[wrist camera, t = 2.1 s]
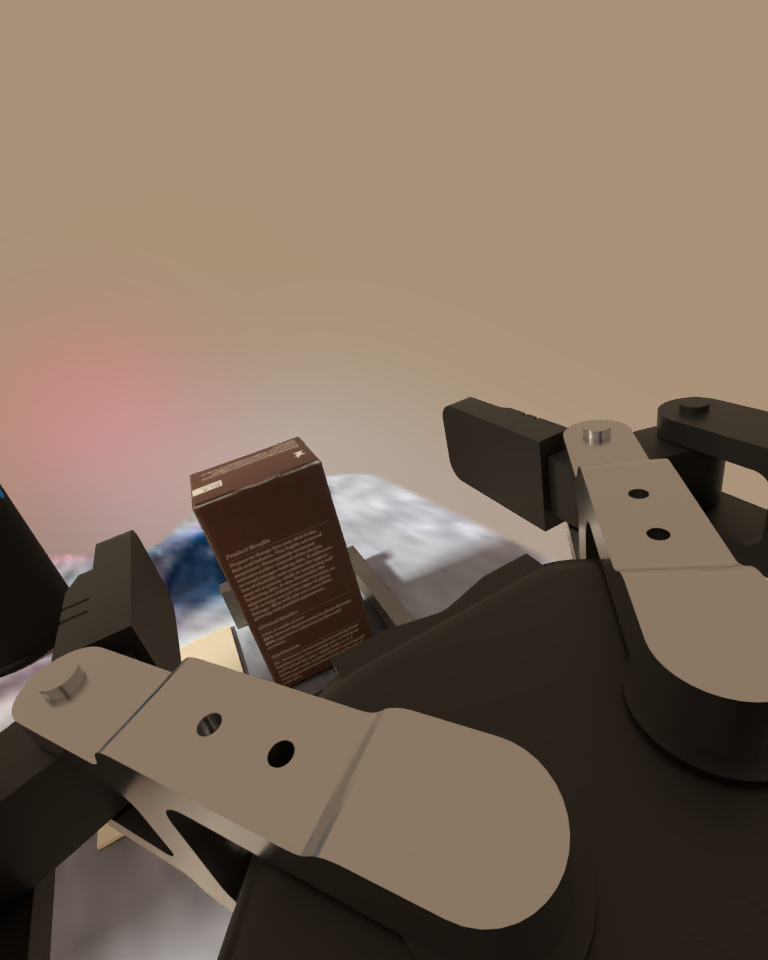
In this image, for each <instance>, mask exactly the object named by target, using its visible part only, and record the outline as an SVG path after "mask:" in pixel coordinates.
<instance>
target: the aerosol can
mask: <svg viewBox="0 0 768 960" xmlns="http://www.w3.org/2000/svg"><path fill="white" fill-rule="evenodd" d="M68 589H69V587H68V586H67V584H66V583H65V581H64V580H63V578H62V576H61V575H60V573H59V572H58V570H57V569H56V567H55V566H54V564H53V563H52V561H51V560H50V558H49V557H48V555H47V554H46V553H45V551H44V549H43V548H42V546H41V545H40V543H39V542H38V540H37V539H36V537H35V536H34V534H33V533H32V531H31V530H30V528H29V527H28V525H27V524H26V522H25V521H24V519H23V518H22V516H21V515H20V513H19V512H18V510H17V509H16V508H15V506H14V504H13V503H12V501H11V500H10V498H9V497H8V495H7V494H6V492H5V491H4V489H3V488H2V486H1V485H0V676H2V675H5V674H7V673H10V672H12V671H14V670H16V669H18V668H20V667H22V666H25V665H26V664H28V663H30V662H31V661H33V660H35V659H36V658H38V657H40V656H41V655H43V654H44V653H45V652H47V651H48V650H50V649H51V648H52V647H53V646H55V641H56V636H57V631H58V626H59V625H60V623H59V622H60V617H61V612H63V610H62V607H63V602H64V597H65V593H66V592H67V590H68Z"/></svg>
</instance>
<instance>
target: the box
mask: <svg viewBox="0 0 768 960" xmlns="http://www.w3.org/2000/svg"><path fill="white" fill-rule="evenodd" d="M190 483H191V493H192V510H193V512H194V514H195V516H196V518H197V520H198V522H199V524H200V526H201V528H202V530H203V532H204V534H205V536H206V539H207V540H208V542H209V544H210V547H211V549H212V550H213V552H214V555H215V557H216V559H217V561H218V563H219V565H220V567H221V569H222V572H223V574H224V575H225V577H226V580H227V582H228V584H229V586H230V588H231V590H232V592H233V594H234V596H235V599H236V601H237V603H238V605H239V607H240V609H241V611H242V613H243V615H244V617H245V619H246V621H247V623H248V626H249V628H250V630H251V632H252V634H253V636H254V639H255V641H256V643H257V645H258V647H259V649H260V652H261V654H262V656H263V658H264V660H265V662H266V664H267V667H268V669H269V671H270V673H271V676H272V677H273V680H274V682H275V683H276V684H279V685H282V686H286V687H290V686H292V685H294V684H296V683H298V682H300V681H302V680H304V679H306V678H308V677H310V676H312V675H314V674H316V673H318V672H320V671H322V670H324V669H326V668H328V667H330V666H332V665H333V664H332V661H331V658H333V657H335V656H337V655H339V654H341V653H343V652H344V651H346V650H348V649H350V648H352V647H354V646H356V645H357V644H359V643H361V642H363V641H365V640H367V639H369V638H370V637H372V636H374V635H373V632H372V629H371V625H370V622H369V619H368V615H367V612H366V609H365V606H364V602H363V599H362V596H361V592H360V589H359V586H358V582H357V579H356V576H355V573H354V569H353V566H352V563H351V560H350V556H349V553H348V549H347V546H346V543H345V540H344V537H343V533H342V531H341V527H340V524H339V520H338V517H337V514H336V511H335V507H334V504H333V501H332V497H331V493H330V490H329V487H328V484H327V480H326V476H325V473H324V470H323V467H322V463H321V461H320V460H319V459H318V458H317V457H316V456H315V455H314V454H313V453H312V452H311V450H309V448H308V447H307V446H306V445H305V443H304V442H303V441H302V440H301V439H300V438H299V437H296V438H293V439H290V440H288V441H285V442H282V443H280V444H277V445H274V446H271V447H269V448H266V449H263V450H261V451H258V452H255V453H252V454H249V455H247V456H244V457H241V458H238V459H235V460H233V461H230V462H227V463H224V464H221V465H218V466H215V467H212V468H210V469H207V470H204V471H202V472H198V473H195V474H192V475H190Z"/></svg>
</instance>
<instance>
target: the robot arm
mask: <svg viewBox="0 0 768 960" xmlns="http://www.w3.org/2000/svg"><path fill="white" fill-rule="evenodd" d="M443 422H444V428H445V434H446V440H447V446H448V452H449V458H450V463H451V466H452V468H453V470H454V472H455V474H456V475H457V477H458V478H459V479H460V480H462V481H463V482H465V483H466V484H468V485H470V486H471V487H473V488H475V489H476V490H478V491H480V492H481V493H483V494H484V495H486V496H488V497H489V498H491V499H493V500H494V501H496V502H498V503H499V504H501V505H503V506H504V507H506V508H507V509H509V510H511V511H512V512H514V513H516V514H517V515H519V516H521V517H522V518H524V519H526V520H527V521H529V522H530V523H532V524H534V525H535V526H537V527H539V528H540V529H542V530H544V531H547V530H549V529H551V528H553V527H555V526H557V525H559V524H561V523H562V522H564V521H565V522H567V537H568V541H569V545H570V549H571V554H572V558H573V559H572V560H564V561H557V562H552V563H547V564H543V565H542V564H541V563H539V562H538V561H536V560H535V559H534V558H532V557H531V556H529V555H528V554H525V555H523V556H521V557H519V558H518V559H516V560H514V561H512V562H510V563H508V564H506V565H505V566H503V567H501V568H499V569H497V570H495V571H493V572H491V573H490V574H488V575H486V576H484V577H483V578H482V579H480V580H479V581H478V582H477V583H476V584H475V585H474V586H472V587H471V588H470V589H469V590H468V591H467V592H466V593H465V594H463V595H462V596H461V597H460V598H459V599H458V600H457V601H455V602H454V603H453V604H452V605H451V606H450V607H449V608H447V609H446V610H444V611H443V612H440V613H438V614H434V615H431V616H428V617H425V618H422V619H418V620H415V621H412V622H409V623H406V624H402V625H399V626H396V627H393V628H389V629H386V630H384V631H382V632H380V633H378V634H376V635H374V636H372V637H370V638H369V639H367V640H365V641H363V642H361V643H359V644H357V645H356V646H354V647H352V648H350V649H348V650H346V651H344V652H343V653H341V654H339V655H337V656H335V657H333V658H331V661H332V664H333V667H334V669H335V672H336V674H337V678H336V679H335V680H334V681H332V682H331V683H330V684H329V685H328V686H327V687H326V688H325V689H324V690H323V691H322V693H321V694H320V695H319V696H318V697H317V696H314V695H311V694H307V693H304V692H301V691H298V690H295V689H292V688H289V687H286V686H282V685H279V684H276V683H273V682H270V681H267V680H264V679H261V678H258V677H254V676H251V675H248V674H245V673H242V672H239V671H236V670H233V669H230V668H226V667H223V666H220V665H217V664H214V663H211V662H208V661H205V660H201V659H198V658H194V657H188V658H185V659H184V660H183V661H182V662H181V655H180V648H179V640H178V633H177V626H176V618H175V611H174V606H173V603H172V600H171V597H170V595H169V592H168V590H167V588H166V586H165V584H164V582H163V580H162V579H161V577H160V575H159V573H158V571H157V570H156V568H155V566H154V564H153V562H152V560H151V559H150V557H149V555H148V553H147V551H146V550H145V548H144V546H143V544H142V542H141V541H140V539H139V537H138V536H137V534H136V533H135V532H134V531H133V530H131V531H128V532H126V533H123V534H121V535H118V536H116V537H113V538H111V539H108V540H106V541H103V542H101V543H98V544H96V548H95V556H94V564H93V570H90V571H88V572H86V573H83V574H81V575H79V576H78V577H77V578H76V580H75V581H74V582H73V584H72V585H71V586H70V588H69V589H68V590H67V592H66V593H65V597H64V602H63V607H62V610H63V612H61V617H60V622H59V623H60V625H59V626H58V631H57V636H56V641H55V646H54V651H53V656H52V661H51V663H50V664H48V665H47V666H46V667H44V668H43V669H42V670H40V671H39V672H38V673H37V674H36V675H35V676H33V677H32V678H31V679H30V680H29V681H28V682H27V684H26V685H25V686H24V687H23V688H22V690H21V691H20V692H19V694H18V696H17V697H16V699H15V701H14V704H13V708H12V716H13V718H14V720H15V722H13V723H12V724H11V725H10V726H9V727H7V728H6V729H5V730H3V731H2V732H0V960H50V948H51V931H52V915H53V899H54V883H55V868H56V867H57V866H58V865H59V864H61V863H62V862H63V861H64V860H65V859H66V858H67V857H69V856H70V855H71V854H72V853H73V852H74V851H75V850H77V849H78V848H79V847H80V846H81V845H82V844H83V843H85V842H86V841H87V840H88V839H89V838H90V837H91V836H93V835H94V834H95V833H96V832H97V831H98V830H99V829H101V828H102V827H103V826H104V825H105V824H106V823H107V824H108V825H110V826H111V827H112V828H114V829H116V830H117V831H119V832H120V833H122V834H123V835H125V836H127V837H128V838H130V839H131V840H133V841H134V842H136V843H138V844H139V845H141V846H142V847H144V848H145V849H147V850H149V851H150V852H152V853H153V854H155V855H156V856H158V857H159V858H161V859H163V860H164V861H166V862H167V863H169V864H170V865H172V866H174V867H175V868H177V869H178V870H180V871H181V872H183V873H184V874H186V875H187V876H188V877H189V878H191V879H192V880H193V881H194V882H195V883H197V884H198V885H199V886H200V887H201V888H202V889H203V890H204V891H205V892H206V893H207V894H209V895H210V896H211V897H212V898H213V899H215V900H216V901H217V902H218V903H220V904H221V905H222V906H224V907H225V908H226V909H228V910H229V911H231V912H232V913H233V914H232V917H231V920H230V923H229V926H228V929H227V932H226V935H225V938H224V941H223V944H222V947H221V950H220V953H219V956H218V959H217V960H768V581H767V580H766V579H765V577H766V578H768V510H766V509H764V508H761V507H759V506H756V505H754V504H751V503H749V502H746V501H744V500H741V499H739V498H736V497H734V496H731V495H729V494H726V493H724V492H721V490H722V483H723V475H724V468H725V461H728V462H731V463H734V464H737V465H740V466H743V467H746V468H749V469H751V470H754V471H757V472H759V473H760V474H761V475H763V476H764V477H765V478H766V480H767V481H768V412H767V411H763V410H759V409H754V408H750V407H746V406H742V405H737V404H733V403H729V402H725V401H721V400H716V399H711V398H702V397H689V398H680V399H675V400H671V401H668V402H666V403H664V404H662V405H661V406H660V407H659V408H658V415H657V426H655V427H651V428H647V429H643V430H639V431H635V432H632V430H631V429H630V427H628V426H627V425H625V424H623V423H620V422H616V421H610V420H591V421H585V422H580V423H577V424H574V425H572V426H570V427H568V428H567V427H564V426H561V425H558V424H555V423H552V422H550V421H547V420H544V419H541V418H539V419H537V417H535V416H532V415H529V414H527V415H526V414H525V413H523V412H520V411H517V410H514V409H511V408H502V407H498V406H495V405H492V404H489V403H486V402H483V401H481V400H478V399H475V398H472V397H469V398H466V399H464V400H461V401H459V402H456V403H454V404H451V405H449V406H446V407H445V408H444V410H443ZM740 564H741V565H740ZM742 565H743V566H742Z"/></svg>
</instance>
